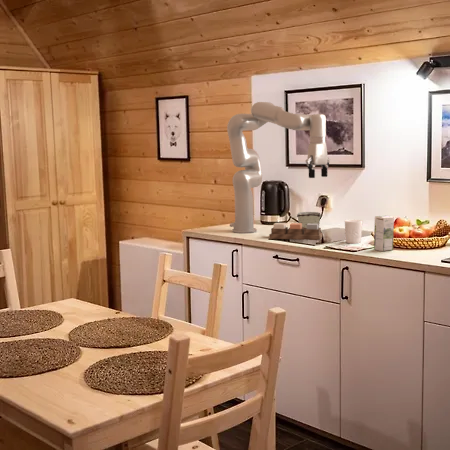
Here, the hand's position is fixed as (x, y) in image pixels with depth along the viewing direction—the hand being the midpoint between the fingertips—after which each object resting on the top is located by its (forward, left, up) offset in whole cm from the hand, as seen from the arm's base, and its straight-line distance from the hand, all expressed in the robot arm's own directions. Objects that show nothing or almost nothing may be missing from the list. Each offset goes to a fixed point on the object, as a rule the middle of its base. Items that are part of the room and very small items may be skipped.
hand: (318, 177), depth 326 cm
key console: (-9, -5, -29) cm, 31 cm away
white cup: (+21, -5, -29) cm, 36 cm away
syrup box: (+41, -18, -29) cm, 53 cm away
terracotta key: (-9, -5, -25) cm, 27 cm away
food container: (-13, +15, -29) cm, 36 cm away
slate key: (-2, -2, -25) cm, 25 cm away
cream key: (-17, -8, -25) cm, 31 cm away
